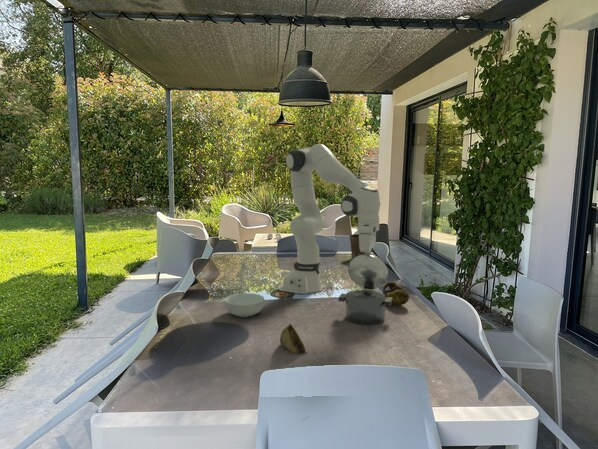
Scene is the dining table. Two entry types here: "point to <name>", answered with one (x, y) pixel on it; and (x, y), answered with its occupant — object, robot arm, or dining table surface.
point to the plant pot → (355, 246)
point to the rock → (292, 340)
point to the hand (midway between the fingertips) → (368, 258)
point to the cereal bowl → (244, 304)
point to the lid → (368, 271)
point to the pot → (365, 306)
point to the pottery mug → (391, 287)
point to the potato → (398, 297)
